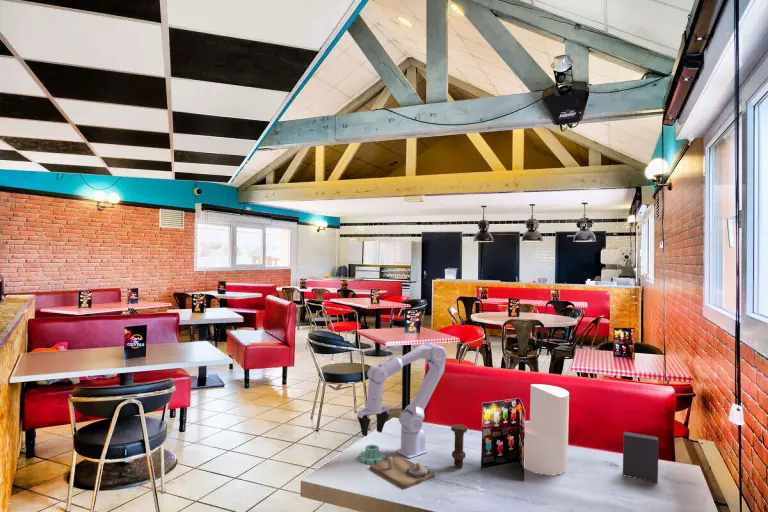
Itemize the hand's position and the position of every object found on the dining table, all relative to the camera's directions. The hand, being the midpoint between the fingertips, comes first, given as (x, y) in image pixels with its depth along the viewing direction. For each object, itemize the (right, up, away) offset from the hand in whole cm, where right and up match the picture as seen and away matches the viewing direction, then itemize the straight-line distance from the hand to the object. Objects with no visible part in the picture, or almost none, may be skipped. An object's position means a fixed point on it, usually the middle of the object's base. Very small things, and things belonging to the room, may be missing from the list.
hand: (371, 433), depth 184 cm
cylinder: (+64, -11, -2) cm, 65 cm away
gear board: (+11, -10, -11) cm, 19 cm away
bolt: (+32, -10, -6) cm, 34 cm away
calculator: (+96, -12, -11) cm, 98 cm away
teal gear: (0, -10, 0) cm, 10 cm away
